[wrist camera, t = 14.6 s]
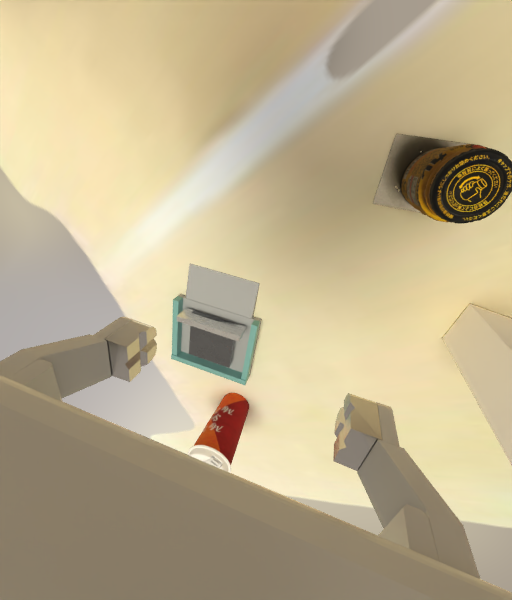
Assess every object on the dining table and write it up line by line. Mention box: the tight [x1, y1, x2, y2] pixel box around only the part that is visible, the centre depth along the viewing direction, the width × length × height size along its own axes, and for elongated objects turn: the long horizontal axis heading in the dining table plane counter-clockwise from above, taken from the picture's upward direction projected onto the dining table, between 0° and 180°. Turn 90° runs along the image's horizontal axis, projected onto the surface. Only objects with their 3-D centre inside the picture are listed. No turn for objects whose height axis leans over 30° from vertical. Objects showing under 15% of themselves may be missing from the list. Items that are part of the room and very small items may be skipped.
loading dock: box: [171, 264, 261, 385], centre depth 47 cm, size 19×15×4 cm
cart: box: [177, 308, 246, 368], centre depth 47 cm, size 9×11×4 cm
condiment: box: [373, 134, 512, 223], centre depth 25 cm, size 7×8×12 cm
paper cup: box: [188, 393, 249, 473], centre depth 49 cm, size 8×8×14 cm
